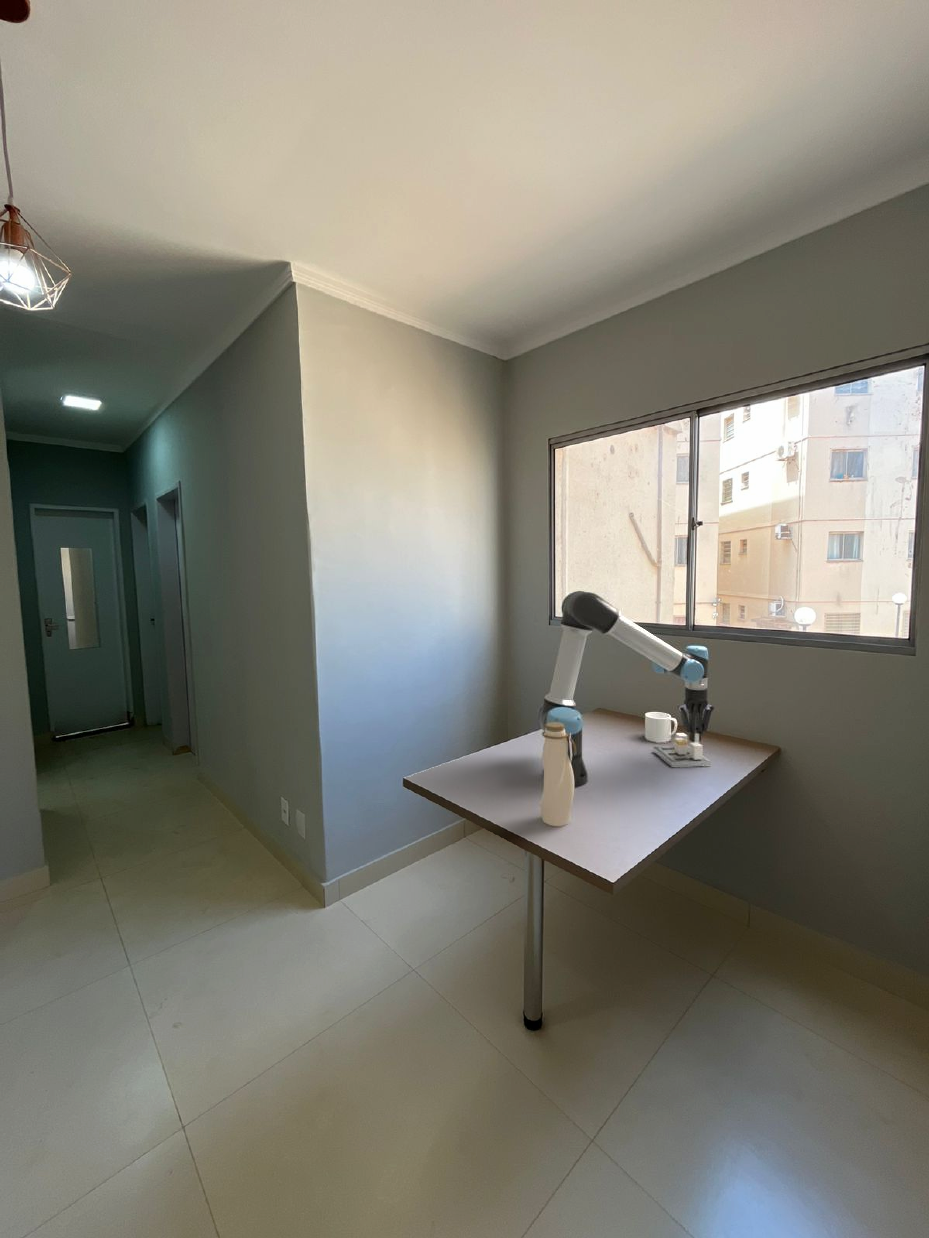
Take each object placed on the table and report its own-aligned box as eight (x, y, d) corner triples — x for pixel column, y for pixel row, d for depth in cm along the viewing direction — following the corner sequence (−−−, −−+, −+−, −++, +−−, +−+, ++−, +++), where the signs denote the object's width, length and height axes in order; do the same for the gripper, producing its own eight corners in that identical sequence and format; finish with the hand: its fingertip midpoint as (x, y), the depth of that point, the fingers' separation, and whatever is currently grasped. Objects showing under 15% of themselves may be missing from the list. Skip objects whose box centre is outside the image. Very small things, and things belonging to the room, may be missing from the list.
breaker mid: (678, 754, 185) (679, 741, 184) (674, 751, 188) (674, 738, 188) (686, 754, 185) (687, 740, 184) (682, 750, 188) (682, 737, 188)
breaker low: (694, 759, 179) (694, 746, 179) (689, 755, 183) (689, 742, 182) (702, 759, 179) (702, 745, 179) (697, 755, 183) (697, 742, 183)
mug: (641, 740, 208) (642, 716, 207) (649, 734, 216) (649, 710, 215) (673, 746, 200) (673, 721, 199) (679, 739, 208) (680, 715, 207)
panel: (672, 767, 178) (672, 762, 178) (653, 752, 194) (653, 746, 194) (710, 766, 179) (710, 760, 179) (688, 750, 195) (688, 745, 195)
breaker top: (679, 748, 190) (679, 736, 190) (675, 745, 194) (675, 733, 193) (687, 748, 190) (687, 735, 190) (682, 745, 194) (683, 732, 193)
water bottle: (572, 811, 148) (571, 719, 145) (580, 826, 139) (579, 728, 136) (537, 812, 148) (536, 720, 145) (543, 827, 139) (542, 729, 136)
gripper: (683, 690, 180) (682, 754, 183) (718, 689, 181) (717, 752, 183) (674, 686, 188) (673, 747, 190) (707, 685, 189) (706, 745, 191)
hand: (695, 749), depth 187 cm, fingers closed
